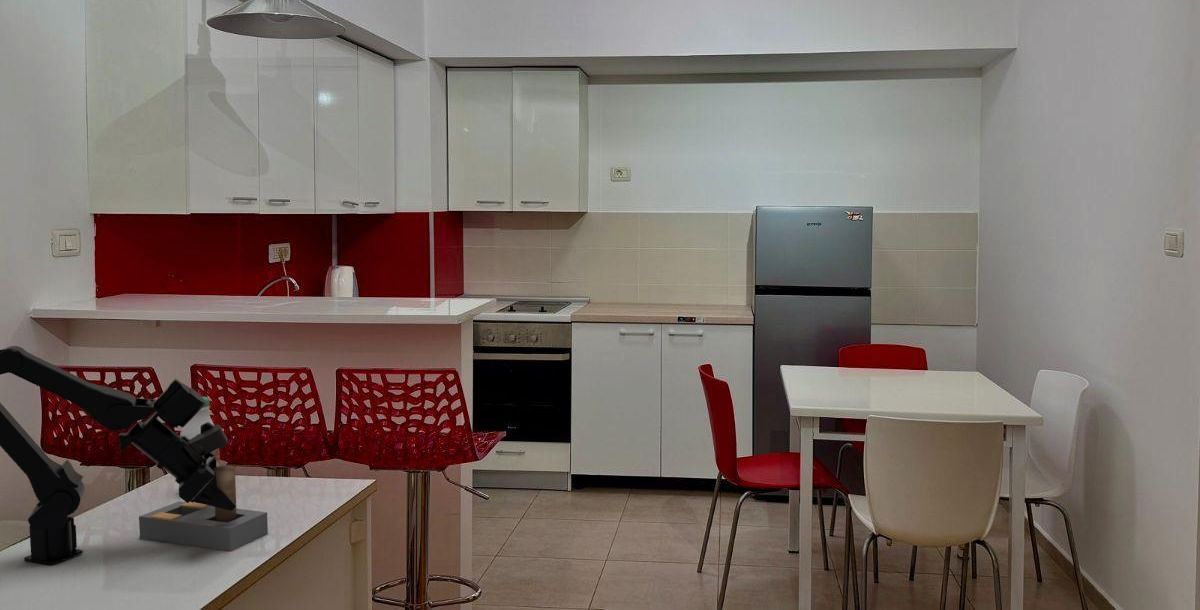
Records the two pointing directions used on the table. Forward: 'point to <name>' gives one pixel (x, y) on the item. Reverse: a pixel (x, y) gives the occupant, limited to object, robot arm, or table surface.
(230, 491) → the walnut peg
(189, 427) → the milk bottle
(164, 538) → the grey peg socket base
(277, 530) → the table surface
